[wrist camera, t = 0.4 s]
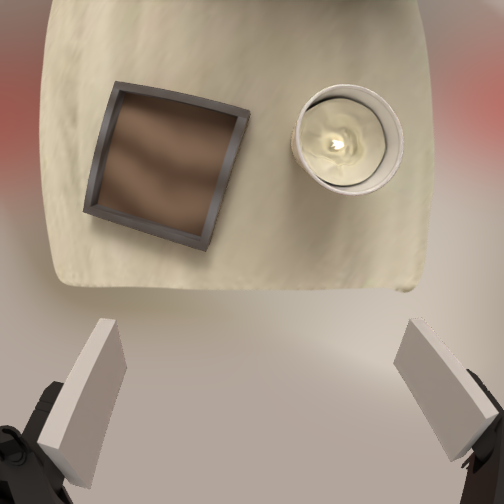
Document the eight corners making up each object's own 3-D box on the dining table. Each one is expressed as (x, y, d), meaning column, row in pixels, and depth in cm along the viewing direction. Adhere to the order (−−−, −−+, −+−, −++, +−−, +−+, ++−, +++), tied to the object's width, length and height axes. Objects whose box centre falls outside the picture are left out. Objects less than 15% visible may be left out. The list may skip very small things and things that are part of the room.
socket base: (124, 85, 33) (115, 81, 30) (250, 114, 34) (249, 110, 31) (93, 207, 38) (82, 212, 35) (209, 244, 39) (205, 251, 36)
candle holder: (274, 169, 36) (281, 175, 25) (296, 94, 33) (313, 67, 22) (349, 193, 37) (385, 210, 25) (371, 121, 34) (415, 110, 23)
